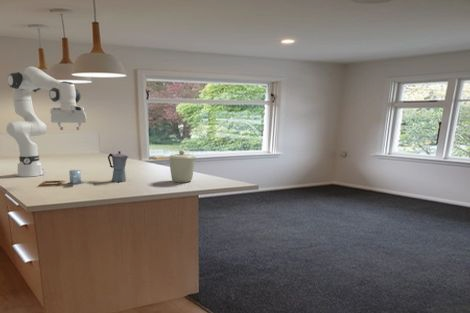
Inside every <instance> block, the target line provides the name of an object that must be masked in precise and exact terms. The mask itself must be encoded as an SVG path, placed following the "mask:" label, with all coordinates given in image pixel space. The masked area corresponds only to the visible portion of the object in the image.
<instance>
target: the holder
mask: <svg viewBox="0 0 470 313" xmlns="http://www.w3.org/2000/svg"><path fill="white" fill-rule="evenodd" d="M65 183H66V180H63V179H62V180H44V181H42V182H40V183H39V184H38V185H37V186H36V188H52V187H53V188H56V187H61V186H63V185H64V184H65Z"/></svg>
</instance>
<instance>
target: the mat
mask: <svg viewBox="0 0 470 313" xmlns="http://www.w3.org/2000/svg"><path fill="white" fill-rule="evenodd" d="M66 184H67V185H69V186H70V185H71V186H77V185H83V184H85V181H82V180H81V183H79V184H70V181H69V182H67V183H66Z"/></svg>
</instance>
